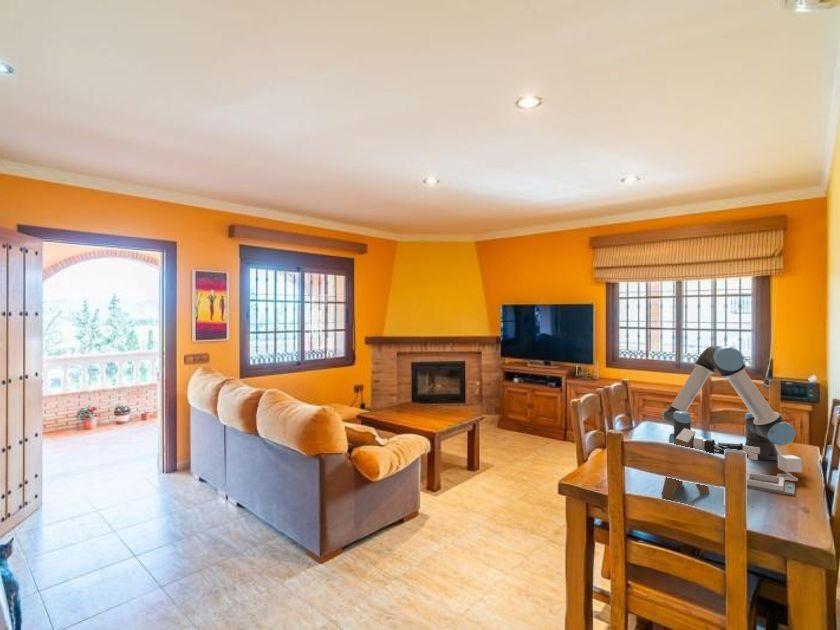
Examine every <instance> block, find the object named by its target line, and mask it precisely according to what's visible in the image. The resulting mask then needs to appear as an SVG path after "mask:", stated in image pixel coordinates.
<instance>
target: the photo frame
mask: <svg viewBox="0 0 840 630" xmlns="http://www.w3.org/2000/svg"><path fill="white" fill-rule="evenodd" d="M694 437H696V431H694V430H689V429H686V428H684V429H683V430H682V431H681V432H680V434H679V435H678V436H677V437H676V438H675V442H674V444H676V445H681V446H685V447H690V448H692V444H693V440H694ZM683 483H684V481H683V482H682V481H679V480H676V479H672V478H667V477H666V476H665V479H664V483H663V487H662V491H661V496H663V497H666V498H667V499H670V500H672V501H673V500H675V498H676V496H677V494H678V492H680V489H681V488H682V486H683ZM695 486H696V488H697V490H698V493H699V494H700V495H701V496H702V495H706V494H707V495H708V494H710V489H709V485H708V486H705V485H700V484H695Z"/></svg>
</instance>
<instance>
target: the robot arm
mask: <svg viewBox="0 0 840 630" xmlns="http://www.w3.org/2000/svg"><path fill="white" fill-rule="evenodd" d="M744 361H745V359H744V356H743V354H742V352H741V351H740V350H738V349H737V348H736V347H735V348H734V347H731V346H726V345H725V346H721V345H711V346H708V347H707V348H706V349H705V350H703V351H702V353H701V354H700V355H699V356H698V358H697V359H696V361H695V363H694V368H693V370H692V372H691V373H690V375H689V376H688V378H687V379H686V381H685V383H684V384H683V386H682V388H681V389H680V390H679V391H678V393H677V394H676V395H677V396H676V397H675V398H674V400H673V402H672V403H671V405H670V406H669V408H668V409H665V410H663V412H662V413H661V417H662V420H663V421H664V422H665V423H667V424H668V425H670V426H672V427H673V433H670V434H669V435H668V436H669V437H668V444H669V443H674V442H675V438H676V437H677V436H678V435H679V434H680V432H681V431H682V430H683V429H684V428H686V429H689V430H691V429H692V427H691V426H692V423H691V421H692V418H691V414H690V412H689V411H688V409H689V408H690V406H691V405H692V403H693V402H694V400H695V398H696V397H697V395H698V394H699V392H700V391H701V389H702V388H703V386H704V385H705V383H706V381H707V380H708V379H709V377H710V375H712V374H715V372H716V371H717V372H718V373H719V375H720V376H721V377H722V378H726V379H727V381H728V382H729V383H730V385H731V387H732V388H733V389H734V391H735V392H736V394H737V396H738V397H739V398H740V399H741V401H742V402H743V403H744V405H745V406H746V408H747V409H748V411H749V412H746V413H745V414H744V423H745V427H744V428H745V442H744V444H743V443H729V442H717V443H716V441H715V440H714V439H713V438H704V437H700V436H699V437H698V436H694V440H693V444H692V448H695V449H699V450H703V451H706V452H709V453H713V454H714V455H715V454H719V455H723V456H725V455H724V450H725V449H737V450H736V451H742V452H743V451H745V452H746V454H747V458H746V459H748V460H753V461H764V460H769V461H768V462H771V461H770V460H776V461H778V458H777V455H780V454H779V451H778V449H777V447H776V445H777V446H781V447H782V446H787V445H790V444H792V442H794V440H795V437H796V430H795V428H794V426H793V425H791V424H790V423H789V422H787V421H785V420H784V419H783V417H782V416H781V414H780V413H779V412H778V411H774V410H773V409H772V408H771V405H769V403H768V401H767V400H766V399H765V397H764V396H763V394H762V393H761V392H760V390H759V389H758V387H757V386H756V385H755V383H754V382H753V380H752V379H751V377H750V376H749V375H748V373H747V372H746V369H747V368H746V367H747V366H746V364H745V363H744ZM758 459H759V460H758Z"/></svg>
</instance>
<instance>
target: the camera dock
mask: <svg viewBox="0 0 840 630" xmlns="http://www.w3.org/2000/svg"><path fill="white" fill-rule="evenodd" d="M746 472H747V488H746V489H752V490H758V491H764V492H769V493H775V494H780V495H785V494H786V495H785V496H791V495H792V497H795V495H796V493H795V492H796V490H795V489H796V484H795V483H796V482H795V483H794V482H790V481H785V480H784V478H783V477H777V475H770V474H763V473H758V472H751V471H746Z"/></svg>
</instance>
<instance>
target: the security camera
mask: <svg viewBox="0 0 840 630" xmlns="http://www.w3.org/2000/svg"><path fill="white" fill-rule="evenodd" d="M777 458H778V460H777V468H778V469H779V470H781V471H783V472H784V473H776V476H777V477H783V478H784V481H785V480H790V481H791V482H798V481H799V478H798V477H797V476H794V475H793V474H792V473H803V461H802V458H801V457H798V456H796V455H794V454H779V455H777ZM790 481H789V482H790Z"/></svg>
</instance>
